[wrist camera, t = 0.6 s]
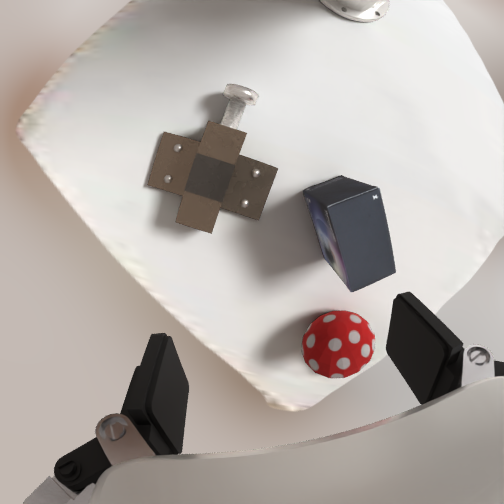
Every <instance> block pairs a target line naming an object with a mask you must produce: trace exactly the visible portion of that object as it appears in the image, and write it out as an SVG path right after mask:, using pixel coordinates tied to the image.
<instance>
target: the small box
mask: <svg viewBox="0 0 504 504" xmlns="http://www.w3.org/2000/svg"><path fill="white" fill-rule="evenodd" d="M303 194H304V197H305V200H306V203H307V206H308V209H309V212H310V215H311V218H312V221H313V224H314V227H315V230H316V233H317V236H318V240H319V243H320V246H321V249H322V253H323V256H324V258H325V260H326V261H327V262H328V263H329V265H330V266H331V267H332V268H333V270H334V271H335V272H336V273H337V275H338V276H339V277H340V278H341V280H342V281H343V282H344V284H345V285H346V286H347V288H348V289H349V290H350V292H354V291H357V290H359V289H361V288H364V287H366V286H368V285H370V284H373V283H375V282H377V281H379V280H381V279H383V278H385V277H388V276H390V275H392V274H394V273H396V269H395V262H394V256H393V250H392V244H391V239H390V234H389V228H388V224H387V219H386V214H385V209H384V205H383V201H382V197H381V193H380V189H379V188H378V187H376V186H371V185H368V184H365V183H362V182H359V181H356V180H353V179H350V178H347V177H344V176H342V175H341V176H338V177H336V178H333V179H331V180H329V181H326V182H323V183H320V184H318V185H314V186H311V187H309V188H307V189H305V190H303Z"/></svg>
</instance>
